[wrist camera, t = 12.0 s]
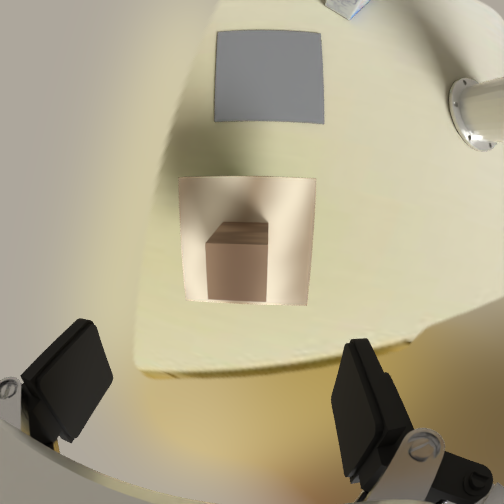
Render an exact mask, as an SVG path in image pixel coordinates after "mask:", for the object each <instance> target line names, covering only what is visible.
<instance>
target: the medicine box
mask: <svg viewBox="0 0 504 504" xmlns="http://www.w3.org/2000/svg"><path fill="white" fill-rule="evenodd" d="M369 1H370V0H326V2H325V6H326V7H328V8H330V9H332V10H333V11H335V12H337V13H338V14H340V15H341V16H343V17H345V18H346V19H348V20H350V19H351V18H352V17H353V16H354V15H355V14H356V13H358V12H359V11H360V10H361V9H362V8H363V7H364V6H365V5H366V4H367V3H368V2H369Z"/></svg>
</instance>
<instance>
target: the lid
mask: <svg viewBox="0 0 504 504" xmlns="http://www.w3.org/2000/svg"><path fill="white" fill-rule="evenodd" d="M315 197H316V179H315V178H299V177H273V176H196V177H179V212H180V233H181V250H182V264H183V276H184V287H185V298H186V300H188V301H202V302H219V303H238V304H264V305H307V300H308V291H309V281H310V270H311V258H312V246H313V232H314V216H315Z"/></svg>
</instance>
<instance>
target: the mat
mask: <svg viewBox="0 0 504 504" xmlns="http://www.w3.org/2000/svg"><path fill="white" fill-rule="evenodd" d="M225 121H281V122H302V123H316V124H324V85H323V62H322V46H321V34H320V33H310V32H298V31H279V30H244V31H225V32H218V38H217V57H216V82H215V122H225Z"/></svg>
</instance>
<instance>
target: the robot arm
mask: <svg viewBox="0 0 504 504" xmlns="http://www.w3.org/2000/svg"><path fill="white" fill-rule="evenodd" d="M449 106H450V112H451V116H452V119H453V122H454V124H455V127H456V129H457V131H458V132H459V134H460V136H461V137H462V138H463V140H464V141H465V142H466V143H467V144H468V145H469V146H470V147H472V148H473V149H475V150H477V151H490V150H492V149H493V148H494V147H495V146H496V144H497V142H504V77H501V78H497V79H493V80H490V81H486V82H482V83H478V82H477V81H475V80H473V79H470V78H462V79H459V80H457V81H456V82H455V83H454V84H453V85H452V87H451V90H450V94H449ZM21 378H22V380H23V381H24V383H23V384H21V383H20V381H19V380H18V379H17V378H15V377H6V378H4V379H2V380H0V504H216V503H208V502H203V501H197V500H191V499H186V498H181V497H176V496H172V495H168V494H164V493H160V492H156V491H152V490H149V489H145V488H142V487H139V486H136V485H132V484H129V483H126V482H124V481H120V480H118V479H115V478H112V477H110V476H107V475H105V474H102V473H100V472H98V471H95V470H93V469H90V468H88V467H86V466H84V465H82V464H79V463H77V462H75V461H73V460H71V459H69V458H67V457H65V456H63V455H61V454H60V451H59V446H58V440H57V437H58V436H60V437H61V438H62V439H63V440H65V441H67V442H70V443H72V441H73V440H74V438H77V437H78V436H79V434H80V433H81V431H82V429H83V428H84V426H85V424H86V423H87V421H88V419H89V418H90V416H91V414H92V413H93V411H94V410H95V408H96V407H97V405H98V403H99V402H100V400H101V399H102V397H103V396H104V394H105V392H106V391H107V389H108V388H109V386H110V385H111V383H112V380H113V375H112V372H111V369H110V366H109V363H108V361H107V358H106V355H105V352H104V349H103V346H102V343H101V340H100V337H99V333H98V330H97V327H96V326H95V325H94V323H93V322H92V321H91V320H86V319H77V320H76V321H75V322H74V323H73V324H72V325H71V326H70V327H69V328H68V329H67V330H66V331H65V332H63V334H62V335H60V336H59V337H58V338H57V339H56V340H55V341H54V342H53V343H52V344H51V345H50V346H49V347H48V348H47V349H46V350H45V351H44V352H43V353H42V354H41V355H40V356H39V357H38V358H37V359H36V360H35V361H34V362H33V363H32V364H31V365H30V366H29V367H28V368H27V369H26V370H25V372H24V373H23V374H22V375H21ZM331 403H332V409H333V414H334V419H335V425H336V430H337V435H338V441H339V446H340V452H341V458H342V464H343V469H344V475H345V477H350V482H351V484H352V483H358V482H360V485H361V489H363V491H362V493H361V494H360V495H359V497H358V498H357V499H356V501H355V502H354V503H346V504H504V487H503V486H502V485H500V484H499V483H497V484H495V485H494V484H493V476H492V473H491V471H490V470H489V469H488V468H487V467H486V466H484V465H482V464H479V463H476V462H473V461H470V460H467V459H465V458H462V457H459V456H456V455H454V454H451V453H449V452H446V451H445V444H444V440H443V439H442V437H441V436H440V435H439V434H438V433H437V432H436V431H433V430H431V429H427V428H418V429H415V430H414V428H413V426H412V423H411V421H410V418H409V416H408V414H407V411H406V409H405V407H404V405H403V402H402V400H401V398H400V396H399V394H398V391H397V389H396V387H395V385H394V383H393V380H392V379H391V377H390V375H389V374H388V373H386V372H385V373H384V372H383V370H382V367H381V365H380V363H379V361H378V359H377V357H376V355H375V352H374V350H373V348H372V346H371V344H370V342H369V340H368V339H367V338H364V339H351V341H350V343H346V344H345V346H344V350H343V355H342V359H341V363H340V367H339V371H338V375H337V378H336V382H335V385H334V389H333V392H332V396H331Z"/></svg>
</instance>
